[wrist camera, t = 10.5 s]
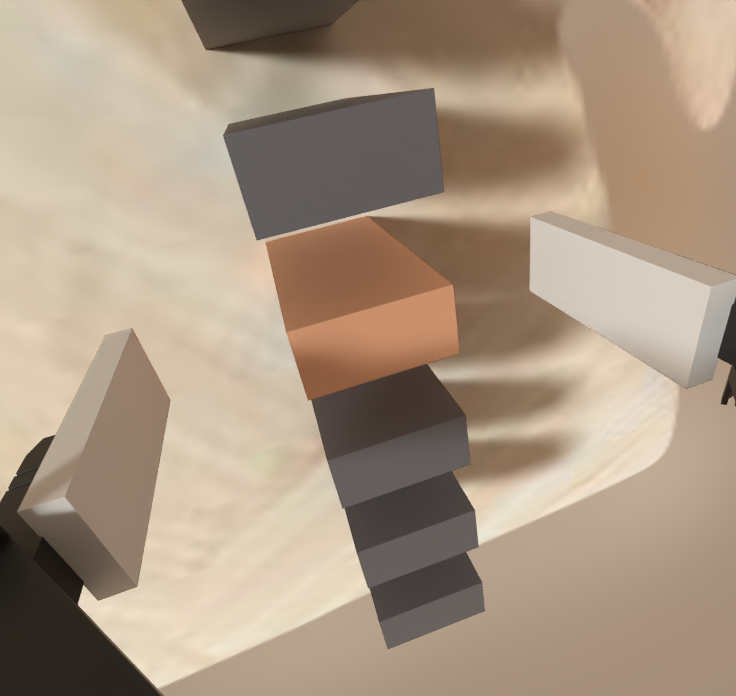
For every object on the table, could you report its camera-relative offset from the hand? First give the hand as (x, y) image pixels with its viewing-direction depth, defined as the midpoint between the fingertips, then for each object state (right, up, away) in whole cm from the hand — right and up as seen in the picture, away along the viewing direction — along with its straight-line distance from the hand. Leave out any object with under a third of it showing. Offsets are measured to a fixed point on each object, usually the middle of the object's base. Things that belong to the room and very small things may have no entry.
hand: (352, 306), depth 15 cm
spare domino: (-2, +3, +7) cm, 8 cm away
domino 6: (+1, -9, +15) cm, 18 cm away
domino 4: (-1, -1, +10) cm, 10 cm away
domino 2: (-3, +8, +5) cm, 9 cm away
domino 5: (0, -5, +12) cm, 13 cm away
